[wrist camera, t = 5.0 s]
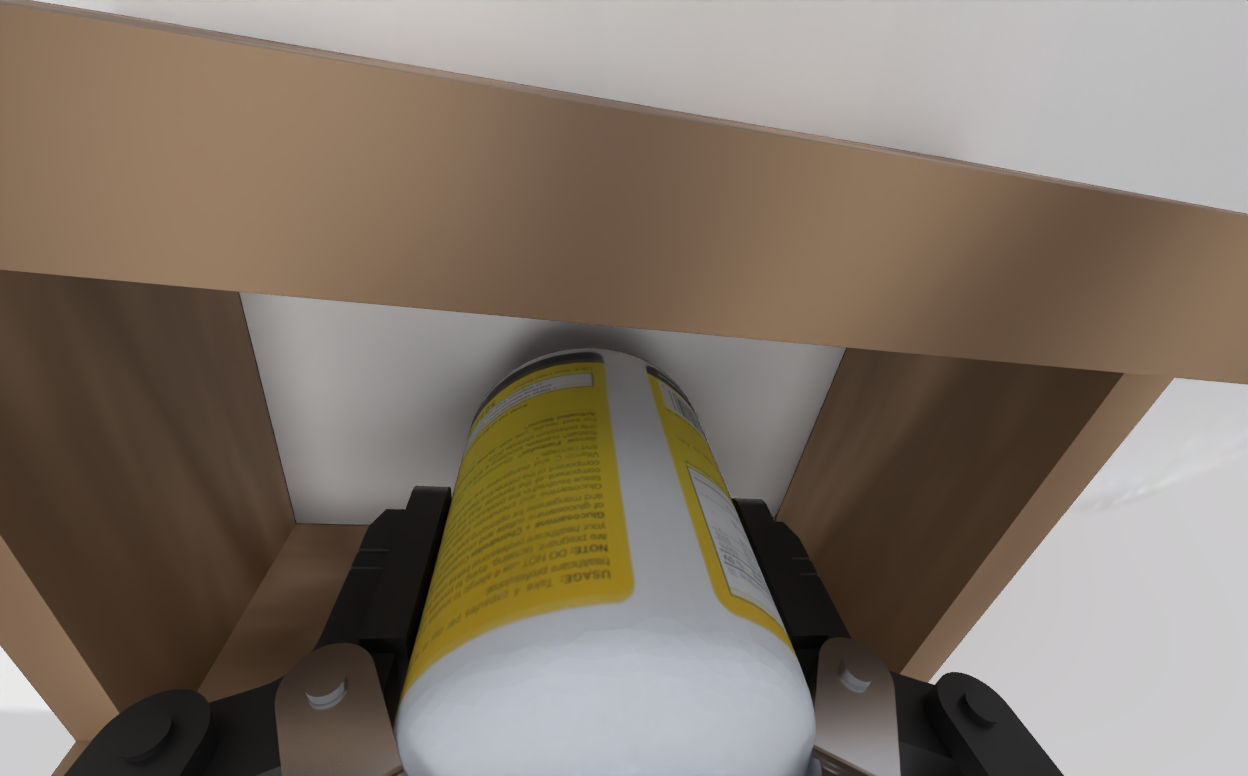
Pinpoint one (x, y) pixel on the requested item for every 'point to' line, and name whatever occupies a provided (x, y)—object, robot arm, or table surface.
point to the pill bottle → (598, 596)
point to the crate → (528, 288)
